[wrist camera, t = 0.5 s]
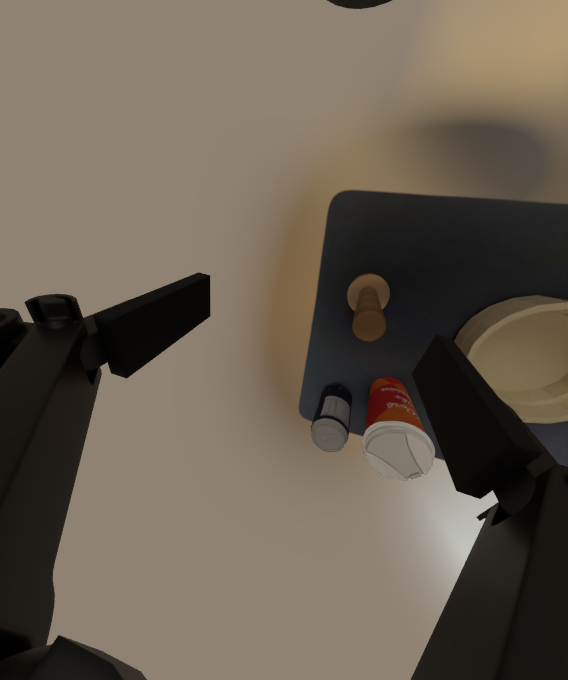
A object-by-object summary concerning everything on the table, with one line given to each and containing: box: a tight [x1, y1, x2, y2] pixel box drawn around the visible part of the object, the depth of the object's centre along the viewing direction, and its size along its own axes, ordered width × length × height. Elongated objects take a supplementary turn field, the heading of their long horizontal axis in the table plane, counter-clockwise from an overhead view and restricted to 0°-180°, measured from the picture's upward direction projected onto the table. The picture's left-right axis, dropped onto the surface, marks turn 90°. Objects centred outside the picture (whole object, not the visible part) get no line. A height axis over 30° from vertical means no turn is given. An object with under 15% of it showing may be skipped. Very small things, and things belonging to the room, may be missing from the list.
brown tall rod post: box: [347, 273, 390, 341], centre depth 27 cm, size 6×6×20 cm
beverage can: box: [311, 385, 352, 452], centre depth 38 cm, size 6×6×12 cm
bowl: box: [454, 295, 568, 424], centre depth 29 cm, size 16×16×6 cm
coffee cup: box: [362, 377, 435, 480], centre depth 33 cm, size 8×8×15 cm
